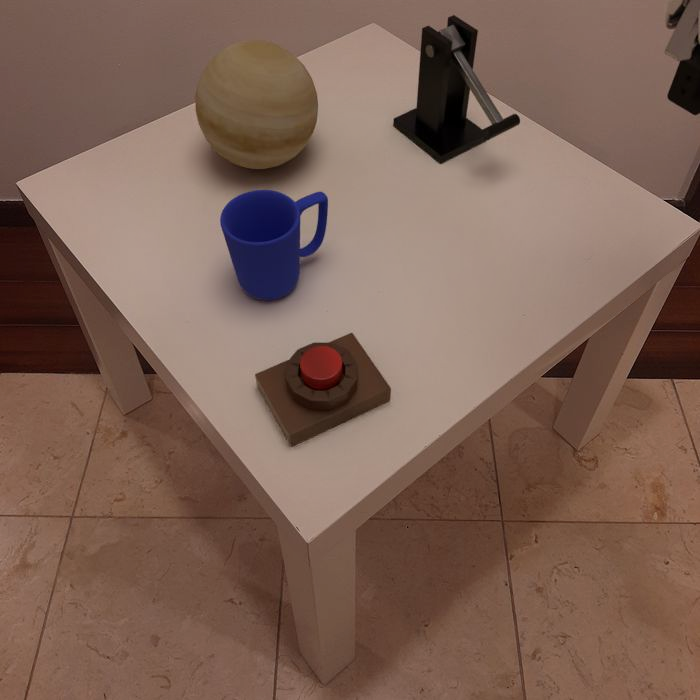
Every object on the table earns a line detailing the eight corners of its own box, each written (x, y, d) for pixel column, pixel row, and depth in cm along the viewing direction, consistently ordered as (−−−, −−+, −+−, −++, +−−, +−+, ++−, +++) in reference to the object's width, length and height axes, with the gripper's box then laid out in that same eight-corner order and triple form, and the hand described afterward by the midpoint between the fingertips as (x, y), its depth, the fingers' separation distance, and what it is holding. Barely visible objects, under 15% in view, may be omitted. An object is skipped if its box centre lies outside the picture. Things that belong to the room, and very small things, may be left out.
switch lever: (514, 129, 91) (524, 119, 89) (484, 144, 89) (493, 135, 87) (454, 32, 91) (462, 20, 89) (422, 46, 90) (430, 34, 87)
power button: (330, 350, 73) (330, 339, 72) (349, 379, 71) (349, 368, 70) (294, 366, 72) (292, 355, 71) (312, 396, 70) (311, 386, 69)
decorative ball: (190, 140, 99) (167, 35, 87) (292, 108, 103) (283, 4, 91) (231, 208, 91) (211, 102, 79) (340, 171, 95) (337, 65, 83)
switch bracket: (486, 140, 99) (504, 36, 87) (440, 164, 96) (451, 59, 84) (438, 104, 104) (448, 1, 92) (393, 125, 101) (397, 21, 89)
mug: (348, 274, 84) (347, 207, 76) (256, 320, 80) (244, 255, 72) (309, 232, 89) (304, 165, 81) (220, 274, 84) (205, 208, 77)
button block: (352, 344, 78) (351, 320, 75) (390, 400, 74) (391, 377, 71) (257, 386, 75) (252, 363, 72) (291, 447, 71) (288, 425, 68)
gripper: (768, -95, 43) (663, 162, 57) (910, -157, 48) (781, 93, 62) (664, -137, 46) (591, 115, 61) (807, -190, 51) (708, 54, 66)
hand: (687, 103), depth 62 cm, fingers closed
